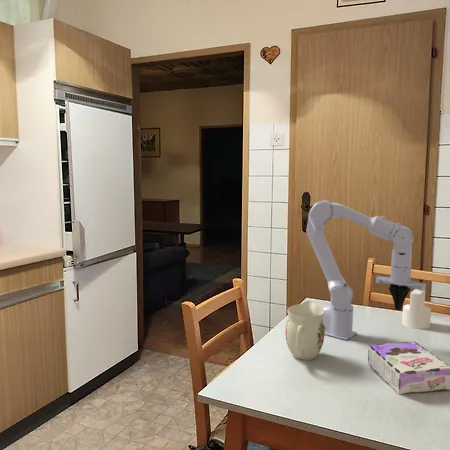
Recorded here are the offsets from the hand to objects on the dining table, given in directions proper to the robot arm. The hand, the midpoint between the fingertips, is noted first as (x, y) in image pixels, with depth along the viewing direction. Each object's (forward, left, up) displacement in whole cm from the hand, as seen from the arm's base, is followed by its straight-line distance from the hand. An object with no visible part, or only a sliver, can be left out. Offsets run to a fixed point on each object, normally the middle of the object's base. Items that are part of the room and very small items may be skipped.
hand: (398, 309), depth 141 cm
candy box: (+5, -18, -7) cm, 20 cm away
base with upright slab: (-1, +21, -11) cm, 24 cm away
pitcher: (-16, -30, -11) cm, 35 cm away
